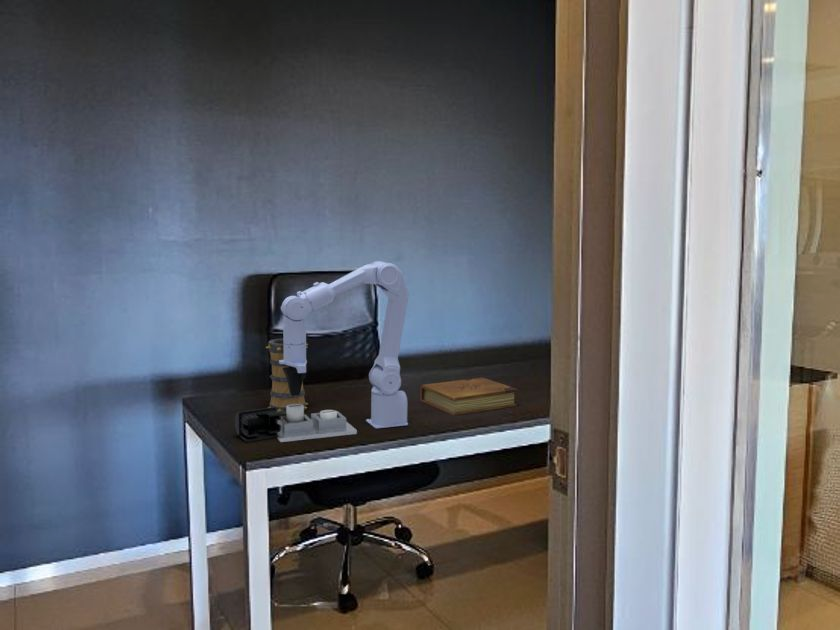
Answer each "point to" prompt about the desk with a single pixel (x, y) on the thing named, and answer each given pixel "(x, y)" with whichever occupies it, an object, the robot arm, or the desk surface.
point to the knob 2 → (328, 414)
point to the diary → (468, 395)
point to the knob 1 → (294, 413)
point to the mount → (314, 428)
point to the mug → (281, 380)
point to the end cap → (257, 424)
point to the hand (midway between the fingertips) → (295, 394)
